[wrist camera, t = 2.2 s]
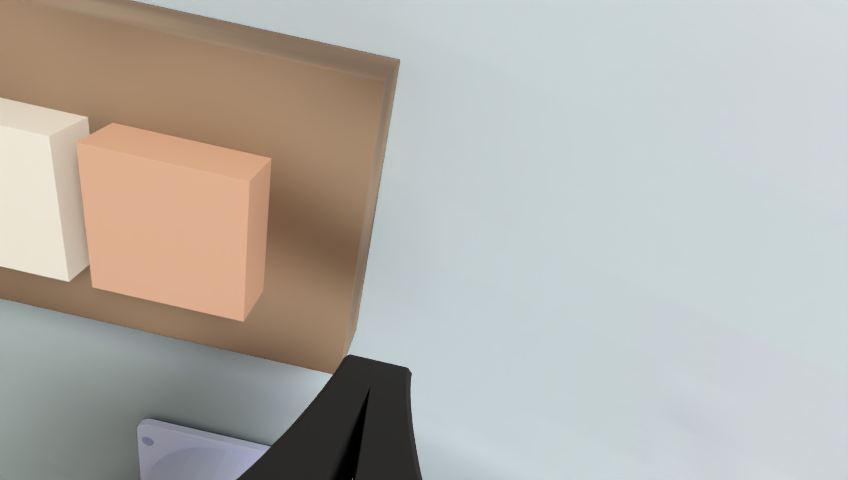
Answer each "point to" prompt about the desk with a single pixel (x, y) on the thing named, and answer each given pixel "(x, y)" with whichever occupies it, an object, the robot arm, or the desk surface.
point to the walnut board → (229, 128)
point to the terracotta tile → (175, 219)
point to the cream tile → (41, 191)
